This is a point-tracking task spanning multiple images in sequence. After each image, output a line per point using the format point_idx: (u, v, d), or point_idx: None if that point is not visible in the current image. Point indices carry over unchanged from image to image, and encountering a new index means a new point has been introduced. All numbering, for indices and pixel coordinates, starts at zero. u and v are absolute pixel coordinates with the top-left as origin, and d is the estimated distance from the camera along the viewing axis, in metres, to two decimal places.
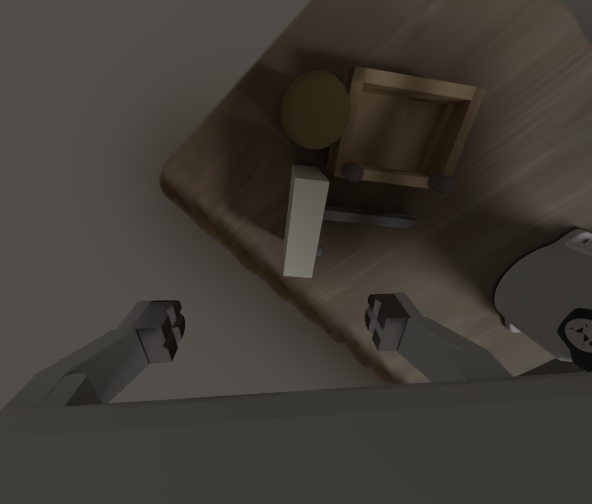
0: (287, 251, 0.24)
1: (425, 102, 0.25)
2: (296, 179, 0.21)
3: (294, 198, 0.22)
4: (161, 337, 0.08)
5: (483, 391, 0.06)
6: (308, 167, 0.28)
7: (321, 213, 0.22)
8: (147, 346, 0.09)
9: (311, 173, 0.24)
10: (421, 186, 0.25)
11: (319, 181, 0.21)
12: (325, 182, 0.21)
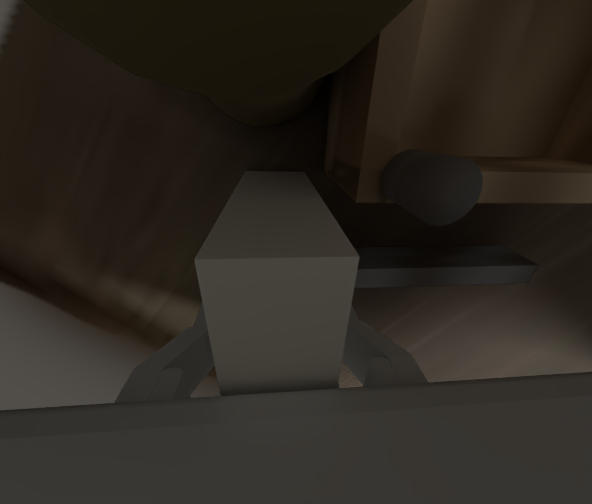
0: None
1: None
2: (201, 266, 0.04)
3: (215, 332, 0.05)
4: None
5: (483, 391, 0.06)
6: (281, 176, 0.11)
7: (334, 359, 0.06)
8: None
9: (284, 202, 0.08)
10: None
11: (312, 259, 0.05)
12: (341, 260, 0.05)
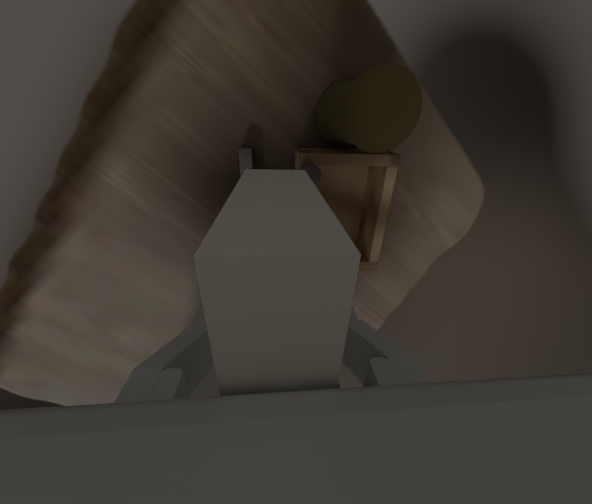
0: None
1: (358, 230, 0.30)
2: (200, 263, 0.04)
3: (215, 331, 0.05)
4: None
5: (483, 391, 0.06)
6: (282, 174, 0.11)
7: (334, 359, 0.06)
8: None
9: (284, 200, 0.07)
10: None
11: (313, 257, 0.04)
12: (342, 258, 0.04)
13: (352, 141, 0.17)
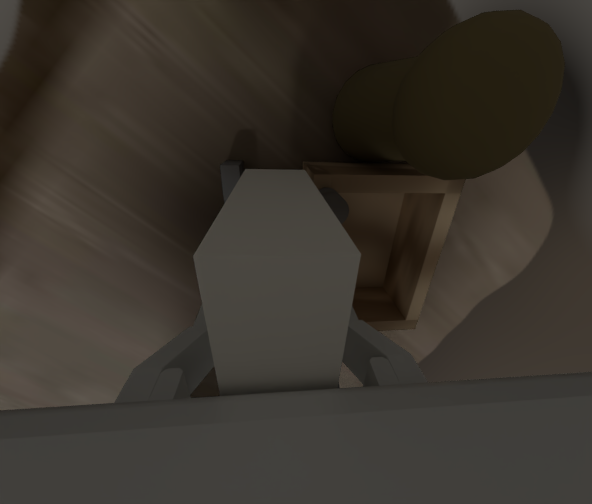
0: None
1: (386, 269, 0.22)
2: (200, 263, 0.04)
3: (214, 331, 0.05)
4: None
5: (483, 391, 0.06)
6: (282, 174, 0.11)
7: (334, 358, 0.06)
8: None
9: (284, 199, 0.07)
10: None
11: (313, 256, 0.04)
12: (342, 258, 0.04)
13: (413, 161, 0.09)
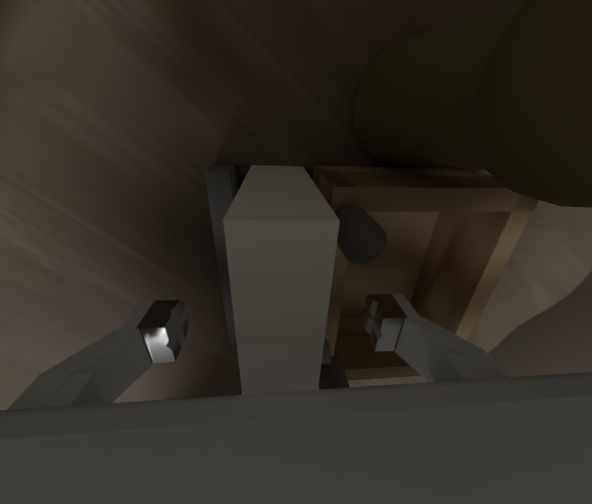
0: (245, 392, 0.09)
1: (412, 295, 0.18)
2: (228, 225, 0.06)
3: (234, 279, 0.07)
4: (164, 337, 0.08)
5: (483, 391, 0.06)
6: (283, 169, 0.13)
7: (323, 305, 0.08)
8: (151, 346, 0.09)
9: (286, 188, 0.09)
10: None
11: (306, 222, 0.06)
12: (326, 223, 0.06)
13: (516, 176, 0.06)
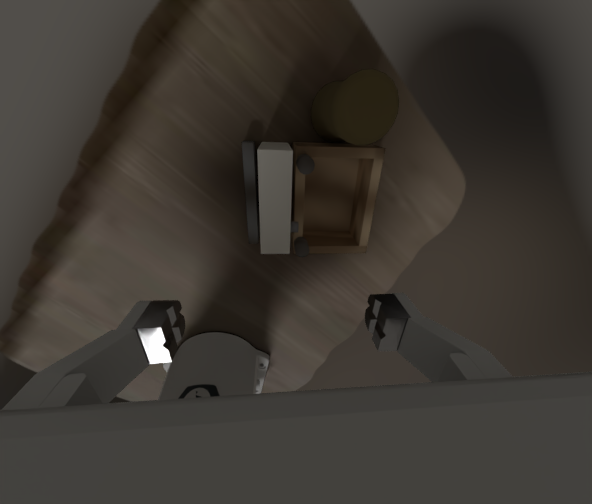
0: (261, 228, 0.24)
1: (350, 218, 0.32)
2: (258, 151, 0.20)
3: (259, 171, 0.21)
4: (161, 337, 0.08)
5: (483, 391, 0.06)
6: (277, 143, 0.27)
7: (289, 184, 0.22)
8: (147, 346, 0.09)
9: (277, 146, 0.24)
10: (295, 233, 0.28)
11: (282, 151, 0.21)
12: (288, 151, 0.21)
13: (340, 135, 0.20)
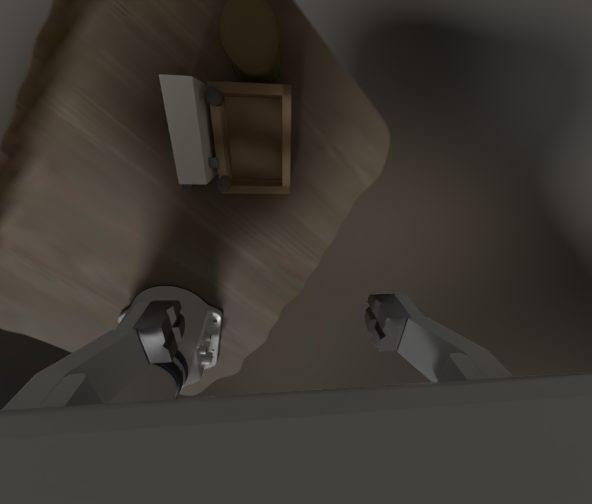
0: (175, 156, 0.26)
1: (280, 165, 0.34)
2: (160, 76, 0.22)
3: (164, 97, 0.23)
4: (161, 337, 0.08)
5: (483, 391, 0.06)
6: None
7: (194, 111, 0.24)
8: (147, 346, 0.09)
9: None
10: (218, 171, 0.30)
11: (182, 76, 0.23)
12: (188, 77, 0.23)
13: (231, 59, 0.22)
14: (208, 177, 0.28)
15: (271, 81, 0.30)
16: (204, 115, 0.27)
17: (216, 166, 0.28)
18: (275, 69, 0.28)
